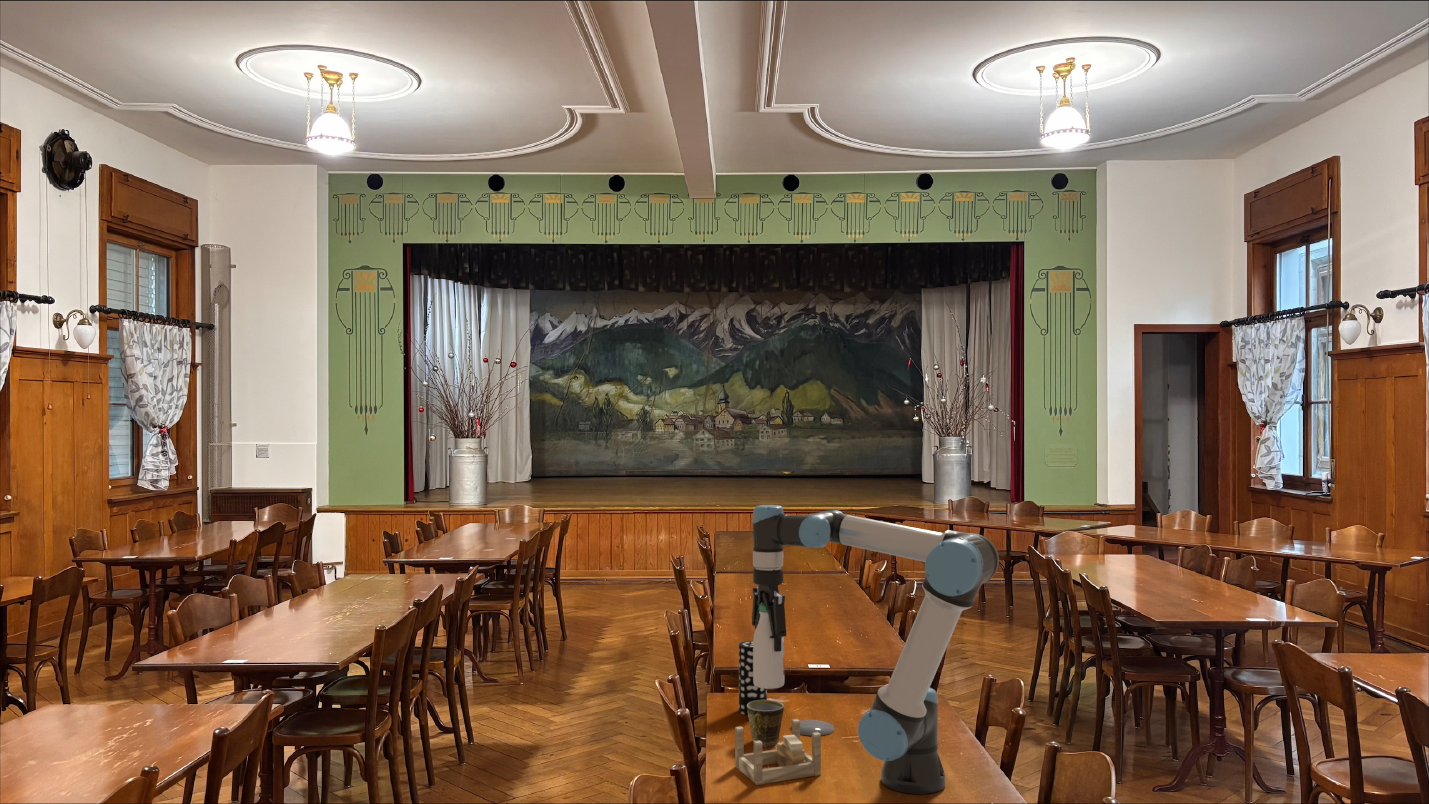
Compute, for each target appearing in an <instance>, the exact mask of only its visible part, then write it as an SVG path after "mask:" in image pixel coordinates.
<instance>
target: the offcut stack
mask: <svg viewBox="0 0 1429 804" xmlns="http://www.w3.org/2000/svg"><path fill="white" fill-rule="evenodd" d="M803 744H804V743H803V742H802V741H801V739H800V740H799V739H798V738H797V737H796V736H795V735H792V734H789V735H788V734H787V735H783V736H782V742H777V743H776V749H777V753H778V763H777V765H778V767H781V766H787V765H794V764H800V763H806V761H805V752H806V751H805V749H804V745H803Z"/></svg>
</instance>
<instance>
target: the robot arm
mask: <svg viewBox="0 0 1429 804" xmlns="http://www.w3.org/2000/svg"><path fill="white" fill-rule="evenodd" d="M752 515H753V518H752V523H751V524H752V538H753V542H752V544H753V550H752V566H753V567H754V568H753V570H752V571H753V573H752V576H753V577H752V579H753V580H752V581H753V583H754V584H755V585H756V587H755V586H754V587H753V588H752V596H753V597H752V610H751V611H752V614H751V626H753V627H754V630H756V627H757V625H758V623H759V619H760V613H759V605H760V604H765V608H766V610H767V611H768V615H769V621H770V626H771V632H772V636H769V637H770V664H771V665H776V664H782V637H787V625H786V610H785V609H786V608H785V601H786V596H785V595H784V594H780V590H779V586H781V585H782V584H784V569H783V568H782V567H784V557H785V554H784V546H790V547H791V546H792V547H802V548H808V549H814V548H821V549H822V548H824V547H826V546H827V544H828V543H833V544H837V545H838V544H839V545H844V546H849V547H854V548H857V549H861V550H862V549H863V550H867V551H872V552H876V553H877V552H878V553H882V554H885V555H891V556H895V557H900V558H905V559H910V560H914V561H918V562H923V563H924V573H925V577H924V578H923V579H924V580H923V581H922V583H921V587H922V589H923V591H924V594H925V595H924V597H923V600H922V601H921V605H920V606H919V610H918V612H917V614H916V617H915V619H914V621H913V623H912V626H911V629H910V631H909V633H908V636H907V638H906V641H905V642H904V646H903V648H902V650H901V652H900V655H899V656H898V660H897V663H896V664H895V667H894V669H893V671H892V673H891V677H890V679H889V681H888V684H887V685H884V686H881V687H879V688H878V690H877V692H876V695H875V698H874V699H873V702H872V704H871V706H870V710H868V711H865V713H864V714H863V715H861V716H862V717H861V718H860V720H859V721H858V725H857V735H858V739H859V740H860V742H861V745H862V747H863V749H864V750H865V751H866V752H867V753H868V754H869V755H870V756H872V757H873V758H875V759H876V760H879V761H881V762H883V766H882V768H881V774H880V776H881V779H880V780H881V781H880V782H881V783H882V784H883V785H884V786H885V787H887V788H888V789H891V790H893V791H896V792H900V793H906V794H913V795H927V794H934V793H937V792H939V791H941V790H943V789H944V788H945V787H946V773H945V770H944V767H943V764H942V761H941V758H940V755H939V750H938V749H939V748H938V745H939V742H938V741H939V739H938V737H939V736H938V735H939V733H938V731H939V729H938V727H939V725H938V724H939V723H938V721H939V720H938V719H939V717H938V716H939V714H938V713H939V712H938V711H939V702H938V701H939V700H938V693H937V691H936V690H935V689H933V688H932V687H931V685H932V682H933V681H934V679H935V675H936V673H937V671H938V668H939V667H940V665H941V664H940V663H941V662H942V660H943V657H944V656H945V655H944V654H945V652H946V649H947V648H948V645H949V643H950V641H951V638H952V637H953V636H952V635H953V633H954V631H955V630H956V627H957V623H958V622H959V620H960V617H961V615H962V612H963V611H965V610H968V609H969V610H970V609H971V608H972V607H973V605H974V602H975V600H976V598H977V595H978V593H979V591H980V589H981V586H982V585H983V584H985V583H987V582H989V581H990V580H991V579H992V578H994V576H995V575H996V573H997V572H998V568H999V565H1000V557H999V552H998V549H997V548H996V546H995V545H994V543H993V542H992V541H991V540H990V538H987V536H984V535H982V534H978V533H975V532H974V533H973V532H964V531H957V530H956V531H955V530H950V529H947V530H946V531H944V532H938V531H933V530H928V529H922V528H918V527H917V528H916V527H911V526H908V525H902V524H897V523H896V524H895V523H891V522H887V521H882V520H881V521H880V520H875V519H871V518H865V517H860V516H855V515H850V514H845V513H843V512H842V511H841V510H836V509H835V510H834V509H828V510H824V511H820V512H816V513H810V514H809V513H808V514H802V515H801V514H800V515H798V514H797V515H796V514H795V515H794V514H785V512H784V508H783V506H782V505H776V504H762V505H756V506H755V507H754V508H753V513H752Z"/></svg>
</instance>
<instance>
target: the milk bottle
mask: <svg viewBox="0 0 1429 804" xmlns="http://www.w3.org/2000/svg"><path fill="white" fill-rule="evenodd" d="M759 613H760V619H759V623H758V625H757V627H756V629H754V633H753V640H752V641H753V683H754V685H755V686H756V687H759V688H766V689H767V690H769V689H771V690H773V689H779V688H782V687H783V686H784V685H785V640H784V639H785V638H784V637H785V636H784V637H782V664H776V665H771V664H770V637H769V636H772V632H771V626H770V621H769V615H768V611H767V610H766V608H765V604H760V605H759Z"/></svg>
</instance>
